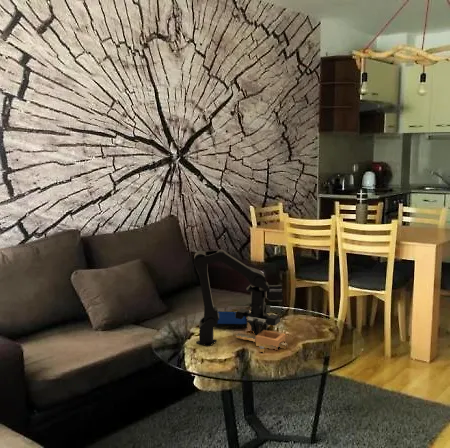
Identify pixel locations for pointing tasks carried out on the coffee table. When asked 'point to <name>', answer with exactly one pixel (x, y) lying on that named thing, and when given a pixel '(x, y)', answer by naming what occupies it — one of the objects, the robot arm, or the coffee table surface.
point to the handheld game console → (230, 320)
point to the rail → (255, 337)
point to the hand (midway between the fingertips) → (257, 336)
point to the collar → (270, 338)
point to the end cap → (263, 325)
